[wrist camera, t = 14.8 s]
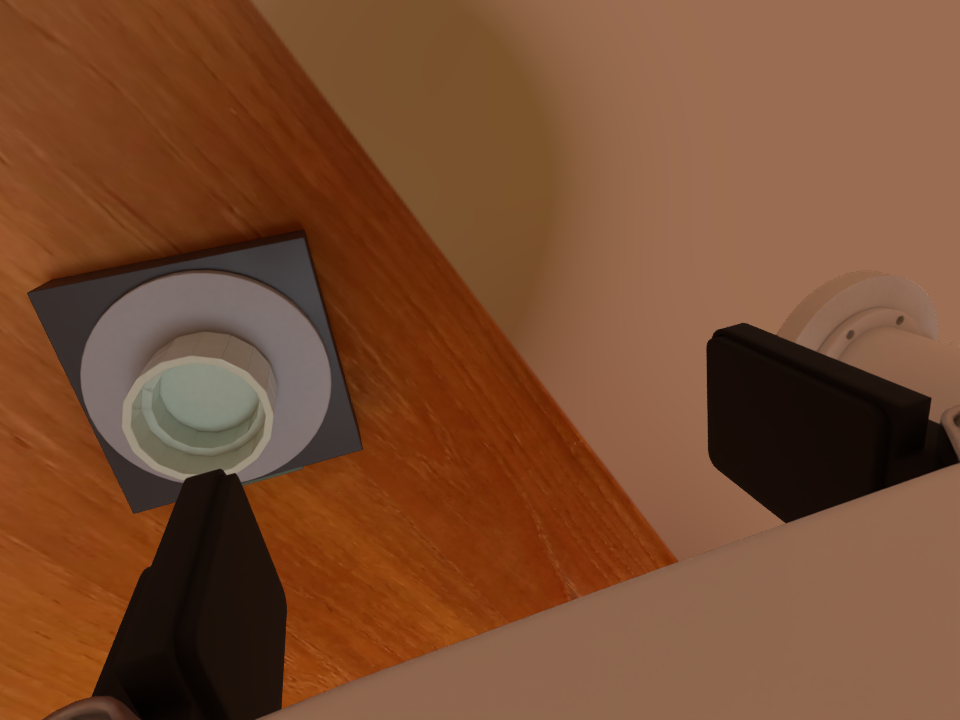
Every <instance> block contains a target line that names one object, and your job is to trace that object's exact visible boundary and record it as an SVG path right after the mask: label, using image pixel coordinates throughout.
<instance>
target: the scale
mask: <svg viewBox="0 0 960 720" xmlns="http://www.w3.org/2000/svg"><path fill="white" fill-rule="evenodd" d="M27 294H28V296H29V298H30V300H31V302H32V305H33V307H34V309H35V311H36V313H37V315H38V317H39V319H40V321H41V323H42V325H43V327H44V329H45V331H46V333H47V336H48V338H49V340H50V342H51V344H52V346H53V348H54V350H55V352H56V354H57V356H58V358H59V360H60V362H61V365H62V367H63V369H64V371H65V373H66V375H67V377H68V379H69V381H70V383H71V385H72V387H73V389H74V391H75V393H76V396H77V398H78V400H79V402H80V404H81V406H82V408H83V410H84V412H85V414H86V416H87V418H88V420H89V422H90V425H91V427H92V429H93V431H94V433H95V435H96V437H97V439H98V441H99V443H100V445H101V447H102V449H103V451H104V453H105V456H106V458H107V460H108V462H109V464H110V466H111V468H112V470H113V472H114V474H115V476H116V478H117V480H118V482H119V485H120V487H121V489H122V491H123V493H124V495H125V497H126V499H127V501H128V503H129V505H130V507H131V509H132V511H133V513H134V514H135V513H139V512H142V511H146V510H149V509H153V508H156V507H160V506H163V505H167V504H171V503H174V502H176V501H177V498H178V496H179V493H180V490H181V488H182V485H183V483H184V480H179V479H176V478H173V477H171V476H168V475H166V474H163V473H160V472H158V471H155V470H154V469H152V468H151V467H150V466H148V465H147V464H146V463H145V462H144V461H143V460H142V459H140V458H139V457H138V456H137V455H136V454H135V453H134V452H133V451H132V449H131V447H130V445H129V443H128V441H127V438H126V436H125V434H124V432H123V430H122V407H123V401H124V399H125V397H126V396H127V394H128V392H129V390H130V389H131V387H132V385H133V384H134V382H135V380H136V379H137V377H138V376H139V375H140V373H141V372H142V371H143V369H144V368H145V366H146V365H147V364H148V362H149V361H150V360H151V358H152V357H153V355H154V354H155V353H156V352H157V351H158V350H159V349H161V348H162V347H164V346H165V345H167V344H168V343H170V342H171V341H173V340H174V339H175V338H178V337H181V336H185V335H190V334H194V333H199V332H212V333H220V334H228V335H230V336H234V337H236V338H238V339H240V340H242V341H244V342H246V343H247V344H249V345H251V346H253V347H255V348H256V349H257V350H258V351H259V353H260V354H261V355H262V356H263V357H264V358H265V359H266V360H267V361H268V363H269V364H270V366H271V368H272V371H273V374H274V377H275V381H276V384H277V393H276V401H275V410H274V418H273V426H272V434H271V438H270V440H269V442H268V443H267V445H266V447H265V448H264V450H263V451H262V453H261V454H260V456H259V458H258V459H257V460H255V461H254V462H252V463H251V464H250V465H248V466H247V467H245V468H244V469H242V470H241V471H240V472H238V473H237V475H238V477H239V479H240V481H241V484H242V486H243V485H247V484H251V483H254V482H258V481H261V480H265V479H268V478H272V477H275V476H279V475H283V474H286V473H290V472H293V471H297V470H300V469H303V466H306V465H310V464H313V463H317V462H320V461H324V460H328V459H331V458H335V457H338V456H342V455H345V454H349V453H353V452H356V451H360V450H363V447H362V442H361V437H360V432H359V427H358V424H357V420H356V416H355V413H354V409H353V405H352V402H351V398H350V394H349V391H348V387H347V384H346V380H345V376H344V373H343V369H342V365H341V362H340V358H339V354H338V351H337V347H336V344H335V340H334V336H333V333H332V329H331V325H330V322H329V318H328V314H327V311H326V307H325V303H324V300H323V296H322V293H321V289H320V285H319V282H318V278H317V274H316V271H315V267H314V263H313V260H312V256H311V253H310V249H309V245H308V242H307V238H306V234H305V231H304V230H301V231H296V232H291V233H286V234H281V235H276V236H271V237H266V238H261V239H256V240H251V241H246V242H241V243H236V244H231V245H226V246H220V247H215V248H210V249H205V250H200V251H195V252H190V253H185V254H180V255H175V256H170V257H165V258H160V259H155V260H150V261H145V262H140V263H135V264H130V265H125V266H120V267H115V268H110V269H105V270H100V271H95V272H90V273H85V274H80V275H75V276H70V277H65V278H60V279H55V280H50V281H48V282H47V283H45V284H43V285H41V286H39V287H37V288H35V289H33V290H31V291H29V292H28V293H27Z"/></svg>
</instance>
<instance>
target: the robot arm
mask: <svg viewBox="0 0 960 720" xmlns="http://www.w3.org/2000/svg"><path fill="white" fill-rule="evenodd" d="M707 406H708V407H707V409H708V452H709V457H710V460H711V461H712V464H713V465H714V466H715V467H716V468H717V469H718V470H719V471H720V472H722V473H723V474H724V475H725V476H727V477H728V478H729V479H730V480H732V481H733V482H734V483H735V484H737V485H738V486H739V487H740V488H742V489H743V490H744V491H745V492H747V493H748V494H749V495H751V496H752V497H753V498H754V499H756V500H757V501H758V502H759V503H761V504H762V505H763V506H764V507H766V508H767V509H768V510H769V511H771V512H772V513H773V514H775V515H776V516H777V517H778V518H780V519H781V520H782V521H783V522H785V523H786V524H783V525H780V526H778V527H775V528H772V529H770V530H766V531H764V532H761V533H758V534H755V535H752V536H750V537H747V538H744V539H741V540H738V541H736V542H733V543H730V544H727V545H724V546H721V547H719V548H716V549H713V550H710V551H707V552H705V553H702V554H699V555H696V556H694V557H691V558H688V559H685V560H682V561H680V562H677V563H674V564H671V565H669V566H666V567H663V568H660V569H658V570H655V571H652V572H649V573H647V574H644V575H641V576H638V577H635V578H633V579H630V580H627V581H624V582H622V583H619V584H616V585H613V586H611V587H608V588H605V589H602V590H600V591H597V592H594V593H591V594H589V595H586V596H583V597H580V598H578V599H575V600H572V601H569V602H567V603H564V604H561V605H558V606H556V607H553V608H550V609H547V610H545V611H542V612H539V613H536V614H534V615H531V616H528V617H525V618H523V619H520V620H517V621H515V622H512V623H509V624H506V625H504V626H501V627H498V628H496V629H493V630H490V631H487V632H485V633H482V634H479V635H477V636H474V637H471V638H469V639H466V640H463V641H460V642H458V643H455V644H452V645H449V646H447V647H444V648H441V649H439V650H436V651H433V652H430V653H428V654H425V655H422V656H419V657H417V658H414V659H411V660H408V661H406V662H403V663H400V664H398V665H395V666H392V667H389V668H387V669H384V670H381V671H378V672H376V673H373V674H370V675H367V676H365V677H362V678H359V679H357V680H354V681H351V682H348V683H346V684H343V685H341V686H338V687H336V688H333V689H331V690H328V691H326V692H323V693H321V694H318V695H316V696H313V697H311V698H308V699H306V700H303V701H301V702H298V703H296V704H293V705H291V706H288V707H286V708H283V709H281V707H282V689H283V671H284V653H285V635H286V617H287V605H286V598H285V593H284V590H283V587H282V585H281V582H280V580H279V577H278V575H277V572H276V569H275V567H274V564H273V562H272V559H271V557H270V554H269V552H268V549H267V547H266V544H265V542H264V539H263V537H262V534H261V532H260V529H259V527H258V524H257V522H256V519H255V516H254V514H253V511H252V509H251V506H250V504H249V501H248V499H247V496H246V494H245V491H244V489H243V486H242V484H241V481H240V479H239V477H238V475H237V474H236V473H233V474H229V475H226V473H225V472H224V470H222V469H221V468H220V469H217V470H213V471H209V472H206V473H202V474H199V475H195V476H191V477H188V478H186V479H185V480H184V483H183V485H182V488H181V490H180V493H179V496H178V498H177V501H176V503H175V506H174V508H173V511H172V514H171V516H170V519H169V521H168V524H167V527H166V529H165V532H164V534H163V537H162V540H161V542H160V545H159V547H158V550H157V553H156V555H155V558H154V560H153V563H152V565H151V567H148V568H147V569H145V570H144V571H143V573H142V574H141V576H140V578H139V580H138V583H137V585H136V588H135V590H134V593H133V595H132V598H131V600H130V603H129V605H128V608H127V610H126V613H125V615H124V617H123V620H122V622H121V625H120V627H119V630H118V632H117V635H116V637H115V640H114V642H113V645H112V647H111V650H110V652H109V655H108V657H107V660H106V662H105V665H104V667H103V670H102V672H101V675H100V677H99V680H98V682H97V684H96V687H95V689H94V692H93V694H92V697H89V698H86V699H82V700H79V701H75V702H73V703H71V704H69V705H67V706H65V707H63V708H61V709H58V710H56V711H54V712H53V713H51V714H50V715H48V716H47V717H45V718H44V719H42V720H960V341H953V342H950V343H947V344H946V343H943V342H940V341H936V340H933V339H930V338H927V337H923V336H922V334H921V331H920V329H919V326H918V325H917V323H916V322H915V321H914V319H913V318H912V317H910V316H909V315H908V314H906V313H904V312H901V311H898V310H895V309H891V308H886V307H879V308H871V309H868V310H864V311H862V312H860V313H858V314H856V315H854V316H852V317H850V318H849V319H847V320H846V321H845V322H843V323H842V324H841V325H840V326H839V327H837V328H836V329H835V330H834V331H833V332H832V333H831V334H830V336H829V337H828V338H827V339H826V341H825V342H824V343H823V344H822V346H821V348H820V349H819V351H818V352H816V351H814V350H811V349H809V348H806V347H804V346H802V345H799V344H797V343H794V342H792V341H789V340H787V339H784V338H782V337H779V336H777V335H774V334H772V333H769V332H767V331H764V330H762V329H759V328H757V327H754V326H752V325H749V324H746V323H741V324H737V325H734V326H730V327H726V328H723V329H719V330H717V331H715V333H714V334H713V336H712V339H710V340H709V341H708V343H707Z"/></svg>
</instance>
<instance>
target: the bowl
mask: <svg viewBox="0 0 960 720" xmlns="http://www.w3.org/2000/svg"><path fill="white" fill-rule="evenodd" d="M276 393H277V384H276V381H275V377H274V374H273V371H272V368H271V366H270V364H269V363H268V361H267V360H266V359H265V358H264V357H263V356H262V355H261V354H260V353H259V351H258V350H257V349H256V348H255V347H253V346H251V345H249V344H247V343H246V342H244V341H242V340H240V339H238V338H236V337H234V336H230V335H228V334H220V333H212V332H199V333H194V334H190V335H185V336H181V337H178V338H175V339H174V340H173V341H171V342H170V343H168V344H167V345H165V346H164V347H162V348H161V349H159V350H158V351H157V352H156V353H155V354H154V355H153V357H152V358H151V360H150V361H149V362H148V364H147V365H146V366H145V368H144V369H143V371H142V372H141V373H140V375H139V376H138V377H137V379H136V380H135V382H134V384H133V385H132V387H131V389H130V390H129V392H128V394H127V396H126V397H125V399H124V401H123V407H122V430H123V432H124V434H125V436H126V438H127V441H128V443H129V445H130V447H131V449H132V451H133V452H134V453H135V454H136V455H137V456H138V457H139V458H140V459H142V460H143V461H144V462H145V463H146V464H147V465H148V466H150V467H151V468H152V469H154V470H155V471H158V472H160V473H163V474H166V475H168V476H171V477H173V478H176V479H179V480H185V479H186V478H188V477H191V476H195V475H199V474H202V473H206V472H209V471H213V470H217V469H220V468H221V469H222V470H224V472H225V473H226V475H229V474H233V473H236V474H237V473H238V472H240V471H241V470H242V469H244V468H245V467H247V466H248V465H250V464H251V463H252V462H254V461H255V460H257V459H258V458H259V456H260V454H261V453H262V451H263V450H264V448H265V447H266V445H267V443H268V442H269V440H270V438H271V434H272V426H273V418H274V410H275V401H276Z"/></svg>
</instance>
